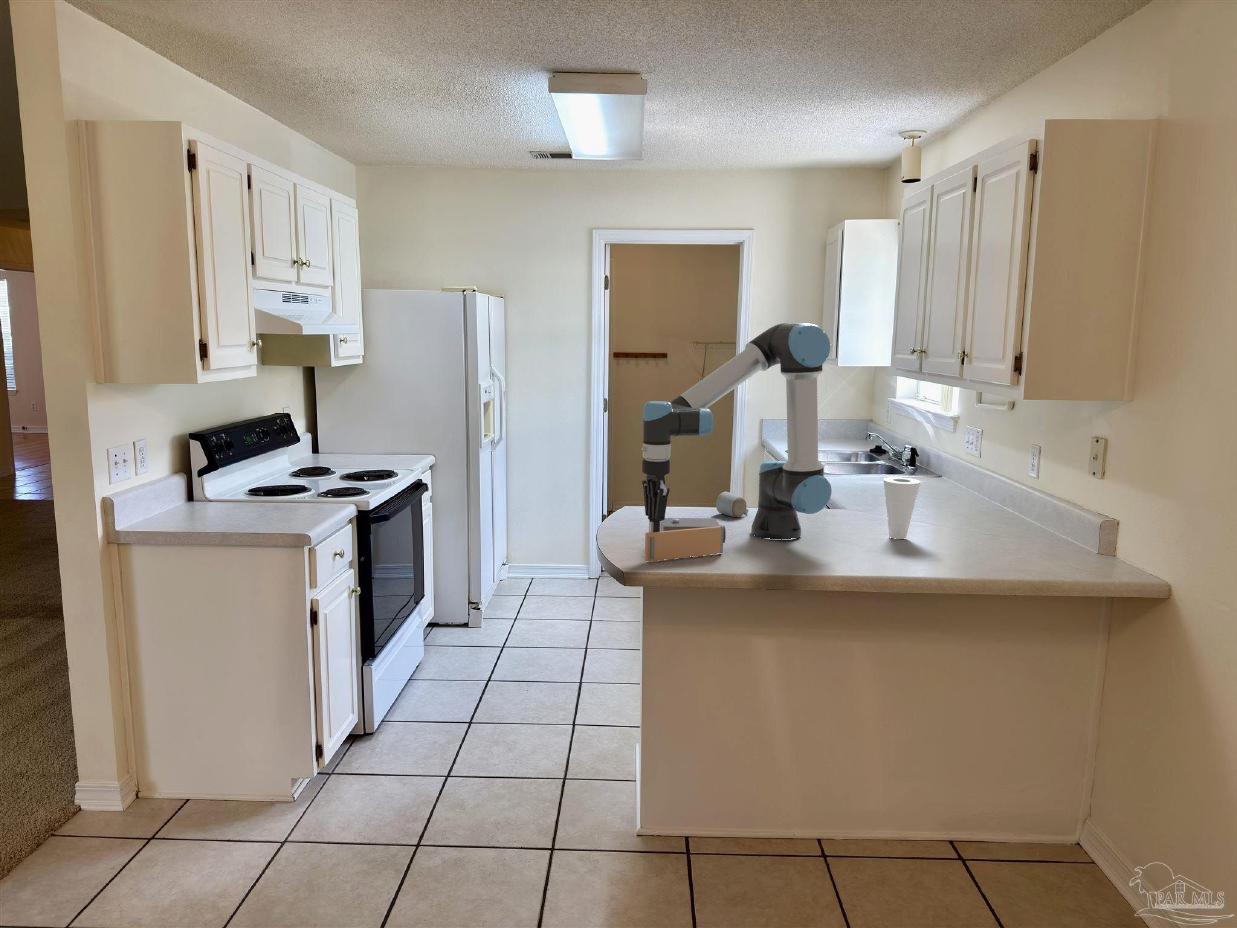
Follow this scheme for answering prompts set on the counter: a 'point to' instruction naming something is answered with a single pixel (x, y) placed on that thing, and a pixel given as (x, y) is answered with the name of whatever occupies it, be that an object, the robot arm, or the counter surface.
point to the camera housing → (689, 524)
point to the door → (683, 543)
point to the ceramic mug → (731, 505)
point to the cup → (900, 504)
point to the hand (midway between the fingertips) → (654, 543)
